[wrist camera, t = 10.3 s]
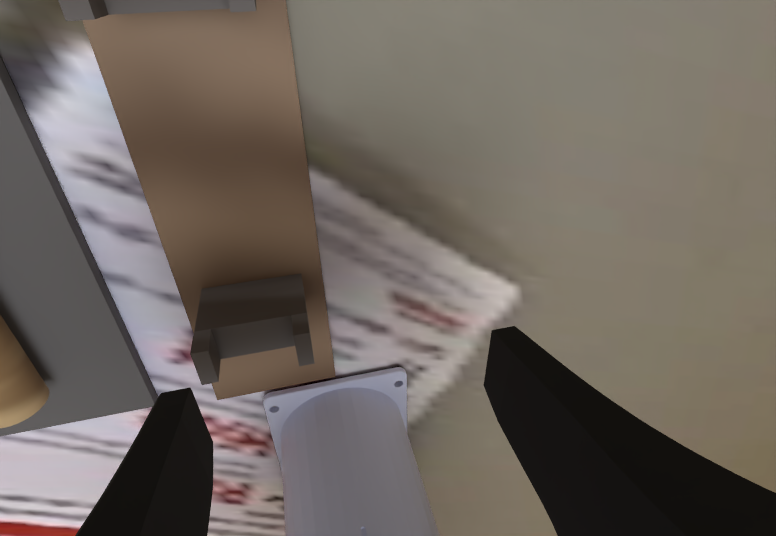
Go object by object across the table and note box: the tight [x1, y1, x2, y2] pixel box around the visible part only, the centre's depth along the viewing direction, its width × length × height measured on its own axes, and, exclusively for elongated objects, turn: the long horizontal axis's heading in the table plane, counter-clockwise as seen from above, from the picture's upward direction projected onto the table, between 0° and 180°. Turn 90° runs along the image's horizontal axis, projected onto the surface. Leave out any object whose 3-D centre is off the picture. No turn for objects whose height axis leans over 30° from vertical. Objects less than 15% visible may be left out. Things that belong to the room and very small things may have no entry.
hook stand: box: [58, 0, 336, 400], centre depth 16 cm, size 24×6×5 cm, turn 2°
